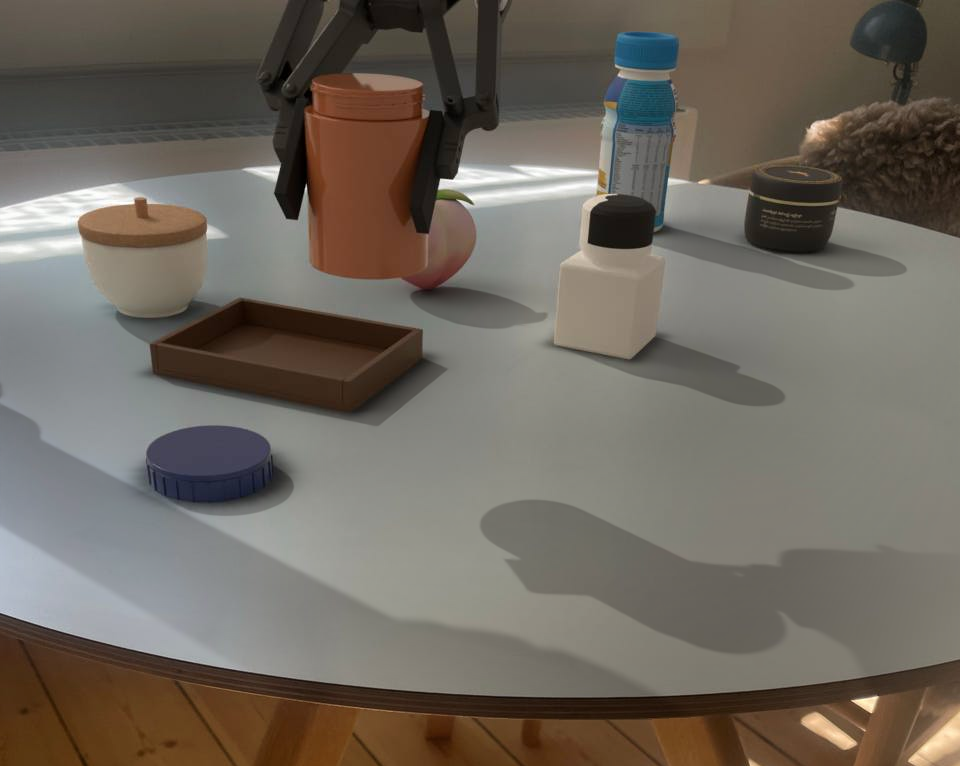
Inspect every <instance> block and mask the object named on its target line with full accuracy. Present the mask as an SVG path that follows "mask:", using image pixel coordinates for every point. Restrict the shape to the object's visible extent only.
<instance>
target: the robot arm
mask: <svg viewBox="0 0 960 766" xmlns="http://www.w3.org/2000/svg"><path fill="white" fill-rule="evenodd" d="M331 1H332V0H287V2H286V4H285V7H284V9H283V11H282V14H281V16H280V18H279V21H278V23H277V26H276V28H275V31H274V33H273V35H272V38H271V39H270V43H269V45H268V47H267V49H266V52H265V54H264V57H263V59H262V61H261V63H260V66H259V69H258V70H257V73H256V76H255V80H256V84H257V86H258V88H259V90H260V93H261V94H262V96H263V99H264V101H265V103H266V105H267V108H268V109H269V110H270V111H272V112H278V116H277V120H276V124H275V129H274V133H273V137H272V146H273V150H274V152H275V155H276V157H277V159H278V161H279V163H280V166H279V170H278V173H277V174H278V175H277V178H276V183H275V186H274V191H273V195H274V197H275V199H276V201H277V203H278V206H279V207H280V209H281V211H282V214H283V215H284V218H285V219H286V220H292V221H298V220H299V217H300V213H301V208H302V205H303V200H304V196H305V192H306V189H307V181H306V152H305V123H304V109H305V108H306V107H307V106H309V105H312V91H310V85H312V79H313V78H315V77H318V76H323V75H329V74H343V72H344V71H345V69H346V68H347V67H348V65H349V64H350V62H352V59H353V58H354V57H355V55H356V54H357V52H358V51H359V50H360V48H361V47H362V46H363V45H368V44H369V43H371V41H372V39H373V38H374V37H375V35H376V34H377V33H378V31H379V30H380V31H381V30H382V31H389V30H396V29H400V30H404V31H407V32H410V33H419V34H422V33H423V32H424V30H425V34H426V38H427V43H428V48H429V51H430V54H431V58H432V63H433V68H434V71H435V76H436V81H437V84H438V88H439V93H440V96H441V101H442V105H443V110H444V112H443V110H437V109H430V110H429V117H428V122H427V126H426V131H425V136H424V140H423V145H422V150H421V154H420V159H419V164H418V168H417V173H416V178H415V182H414V187H413V192H412V196H411V201H410V206H409V209H410V212H411V215H412V219H413V222H414V225H415V229H416V232H417V233H423V234H429V231H430V226H431V221H432V216H433V211H434V207H435V202H436V197H437V192H438V190H439V187H440V182H441V180H449V181H454V179H455V178H456V176H457V175H458V174H459V169H460V164H461V158H462V154H463V150H464V144H465V139H466V137H467V135H468V134H469V133H470V132H472V131H475V130H478V129H481V130H482V131H485V132H493V131H495V130H496V129H497V128H498V127H499V124H500V107H501V106H500V105H501V104H500V103H501V102H500V101H501V74H502V73H501V69H502V68H501V67H502V41H503V40H502V35H503V24H504V22H505V20H506V17H507V15H508V13H509V10H510V9H511V7H512V4H513V0H473V3H474V7H475V9H477V30H476V31H477V32H476V58H475V59H476V62H475V65H476V66H475V85H474V86H475V87H474V89H475V90H474V95H472V96H468V97H464V96H463V92H462V89H461V84H460V81H459V76H458V72H457V67H456V63H455V60H454V56H453V52H452V47H451V43H450V40H449V35H448V30H447V26H446V22H445V18H444V16H445V15H446V14H448V13H449V12H450V11H451V10H452V9H453V8H454V7H455V6H456V5H458V4H459V3H460V2H461V1H462V0H339V5H338V8H337V10H336V11H335V12H334V14H333V16H332V17H331V18H330V20H329V21H328V22H327V23H326V25H325V27H324V28H323V30H322V31H320V34H319V35H318V36H317V38H316V39H315V40H314V41H313V39H314V36H315V34H316V32H317V30H318V27H319V25H320V22H321V21H322V20H321V19H322V17H323V13H324V10H325V3H329V2H331ZM312 42H313V43H312Z"/></svg>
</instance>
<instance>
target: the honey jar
mask: <svg viewBox="0 0 960 766" xmlns="http://www.w3.org/2000/svg"><path fill="white" fill-rule="evenodd" d="M310 91H312V105H309V106H307V107H306V108H305V109H304V123H305V152H306V181H307V184H306V209H307V232H308V233H307V234H308V236H307V238H308V261H309V264H310V266H311V267H312V268H313V269H315V270H317V271H319V272H321V273H324V274H327V275H330V276H334V277H340V278H346V279H352V280H353V279H355V280H367V281H368V280H369V281H370V280H371V281H373V280H375V281H376V280H378V281H379V280H395V279H402V277H407V276H411V275H414V274H417V273H419V272H421V271H423V270H424V269H425V268H426V267H427V265H428V234H423V233H417V232H416V229H415V225H414V222H413V219H412V215H411V212H410V209H409V206H410V201H411V196H412V192H413V187H414V182H415V178H416V173H417V168H418V164H419V159H420V154H421V150H422V145H423V140H424V136H425V131H426V126H427V122H428V117H429V112H430V110H428V109H425V108H424V101H425V100H426V95H425V93H424V84H423V83H422V82H421V81H419V80H417V79H414V78H410V77H405V76H398V75H393V74H382V73H366V72H365V73H363V72H361V73H360V72H359V73H357V72H354V73H353V72H352V73H351V72H350V73H347V72H345V73H343V72H342V73H341V74H329V75H323V76H318V77H315V78H313V79H312V85H310Z"/></svg>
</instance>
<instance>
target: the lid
mask: <svg viewBox="0 0 960 766" xmlns="http://www.w3.org/2000/svg"><path fill="white" fill-rule="evenodd" d="M145 453H146V454H145V455H146V458H145V461H146V462H145V463H146V470H147V479H148V483H149V485H151V487H152V488H153V490H154V491H156V492H158V493H159V494H161V495H163V496H166V497H169V498H171V499H175V500H177V501H178V500H179V501H182V502H183V501H184V502H190V503H191V502H192V503H218V502H219V503H220V502H228V501H232V500H237V499H240V498H244V497H247V496H250V495H252V494H254V493H257V492H259V491H261V490H262V489H263V488H265V487H266V486H267V485H268V484H269V482H270V481H272V480H273V477H272V476H273V474H274V459H273V458H274V457H273V454H272V447H271V444H270V442H269V440H267V438H265V436H263V435H261V434H260V433H258V432H256V431H254V430H250V429H247V428H243V427H239V426H238V427H237V426H231V425H219V424H218V425H217V424H216V425H210V424H209V425H198V426H190V427H185V428H179V429H176V430H173V431H171V432H167V433H165V434H162V435H160V436H159V437H157V438H156V439H154V440H153V441H152V442H151V443H150V444H149V445H148V447H147V449H146V452H145Z"/></svg>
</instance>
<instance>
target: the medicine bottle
mask: <svg viewBox="0 0 960 766" xmlns="http://www.w3.org/2000/svg"><path fill="white" fill-rule="evenodd" d="M655 217H656V209H655V208H654V206H653V205H652V204H651V203H649V202H648V201H646V200H644V199H642V198H640V197H636V196H631V195H624V194H603V195H598V196H596V195H595V196H593V197H591V198H588V199H587V200H586V201H585V202H584V203H583V204H582V210H581V220H580V231H579V232H580V233H579V242H578V248H579V249H580V250H579V251H578V252H576V253H574V254H573V255H572V256H570V257H568V258H567V259H565V260H564V261H562V262H561V263H560V265H559V273H558V286H557V297H556V299H557V300H556V310H555V311H556V312H555V324H554V334H553V335H554V336H553V344H554V345H555V346H557V347H561V348H562V347H563V348H567V349H572V350H577V351H582V352H586V353H592V354H597V355H601V356H602V355H603V356H608V357H612V358H618V359H623V360H632V359H633V358H634V357H635V356H636V355H637V354H638V353H639V352H640V351H642V350H643V348H644V347H646V346H647V345H648V344H649V343H650V342H651V341H652V340H653V339H654V338H655V337H656V335H657V328H658V320H659V312H660V307H661V306H660V305H661V297H662V292H663V291H662V289H663V283H664V282H663V281H664V275H665V268H666V258H665V256H663V255H658V254H653V253H652V247H653V239H654V233H655V232H654V225H655Z"/></svg>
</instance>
